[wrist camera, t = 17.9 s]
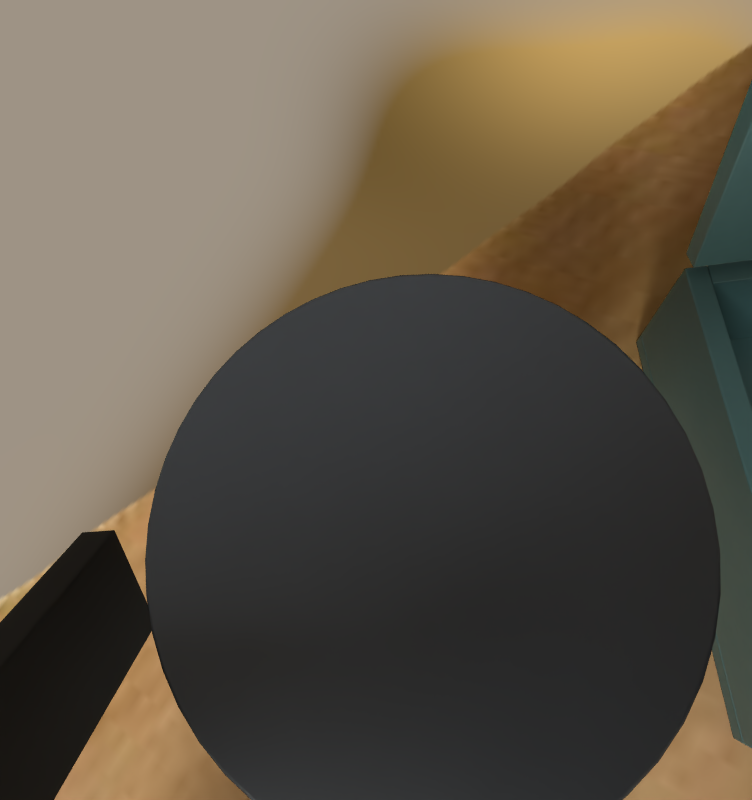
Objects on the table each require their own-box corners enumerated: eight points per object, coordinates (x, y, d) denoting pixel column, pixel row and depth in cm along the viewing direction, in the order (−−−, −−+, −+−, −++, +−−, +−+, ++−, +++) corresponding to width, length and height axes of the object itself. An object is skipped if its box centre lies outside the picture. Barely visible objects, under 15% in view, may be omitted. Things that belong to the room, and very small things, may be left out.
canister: (583, 501, 23) (777, 348, 9) (519, 722, 21) (635, 1043, 6) (389, 434, 26) (280, 227, 11) (313, 624, 24) (45, 681, 9)
